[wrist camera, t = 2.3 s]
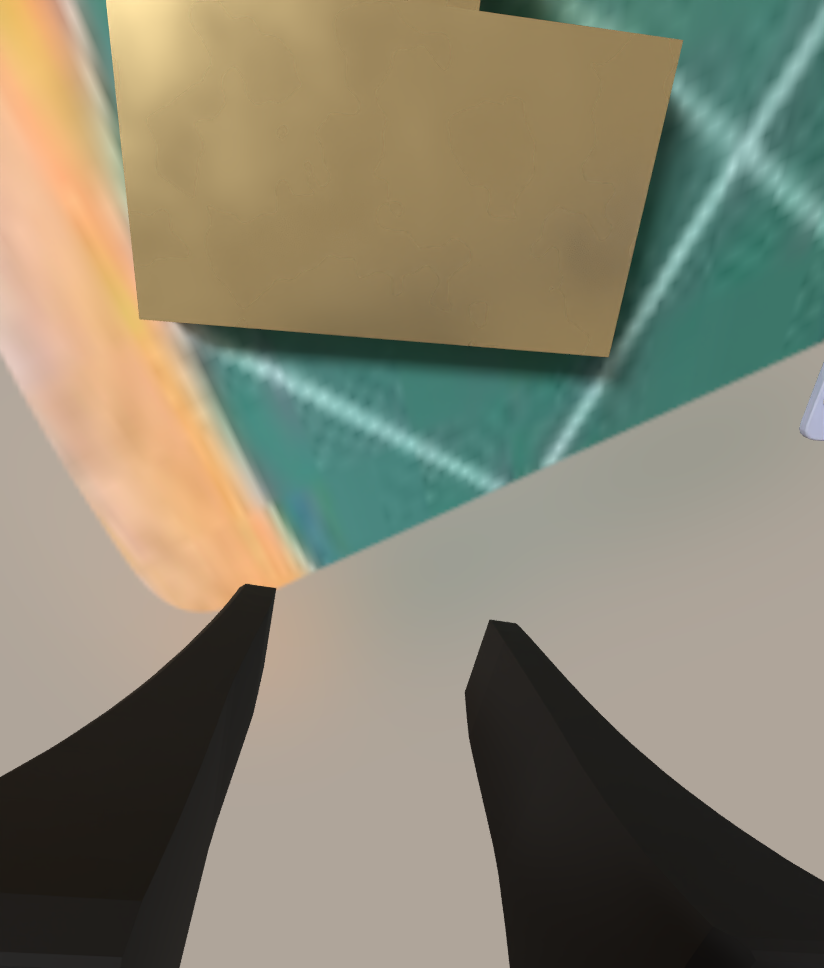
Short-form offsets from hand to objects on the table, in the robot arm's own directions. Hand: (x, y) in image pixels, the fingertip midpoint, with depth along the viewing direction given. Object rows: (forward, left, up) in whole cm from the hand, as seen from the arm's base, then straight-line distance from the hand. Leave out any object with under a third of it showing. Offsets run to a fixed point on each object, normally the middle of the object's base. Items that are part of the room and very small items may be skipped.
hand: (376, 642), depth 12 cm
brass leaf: (+11, 0, -9) cm, 15 cm away
